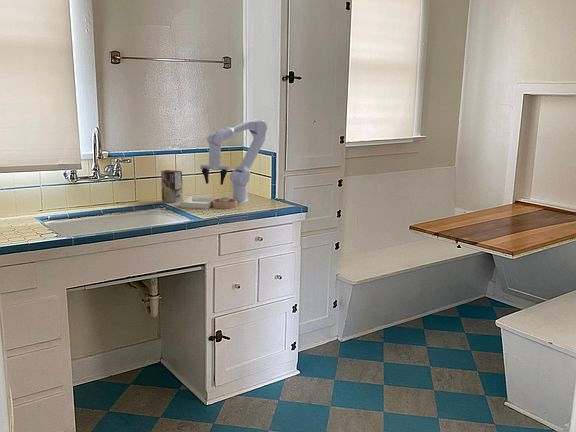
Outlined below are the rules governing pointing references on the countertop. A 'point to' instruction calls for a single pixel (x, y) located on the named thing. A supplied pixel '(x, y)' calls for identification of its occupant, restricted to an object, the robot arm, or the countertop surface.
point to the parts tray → (197, 202)
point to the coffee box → (171, 186)
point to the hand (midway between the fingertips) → (214, 183)
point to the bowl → (224, 204)
